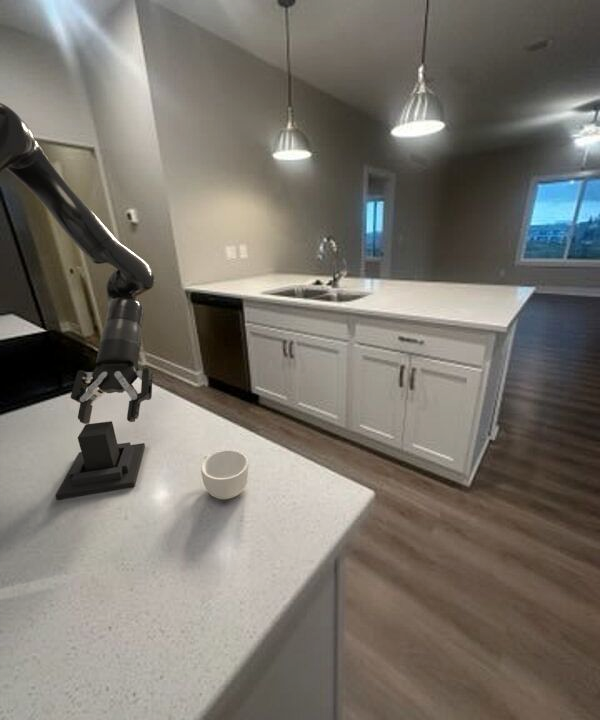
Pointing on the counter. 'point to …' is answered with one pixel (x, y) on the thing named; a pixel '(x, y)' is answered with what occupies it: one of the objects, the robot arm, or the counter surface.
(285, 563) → the counter surface
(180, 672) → the counter surface
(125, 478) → the base pad
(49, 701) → the counter surface
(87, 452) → the dark grey rectangular block
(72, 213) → the robot arm
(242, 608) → the counter surface
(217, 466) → the teacup
